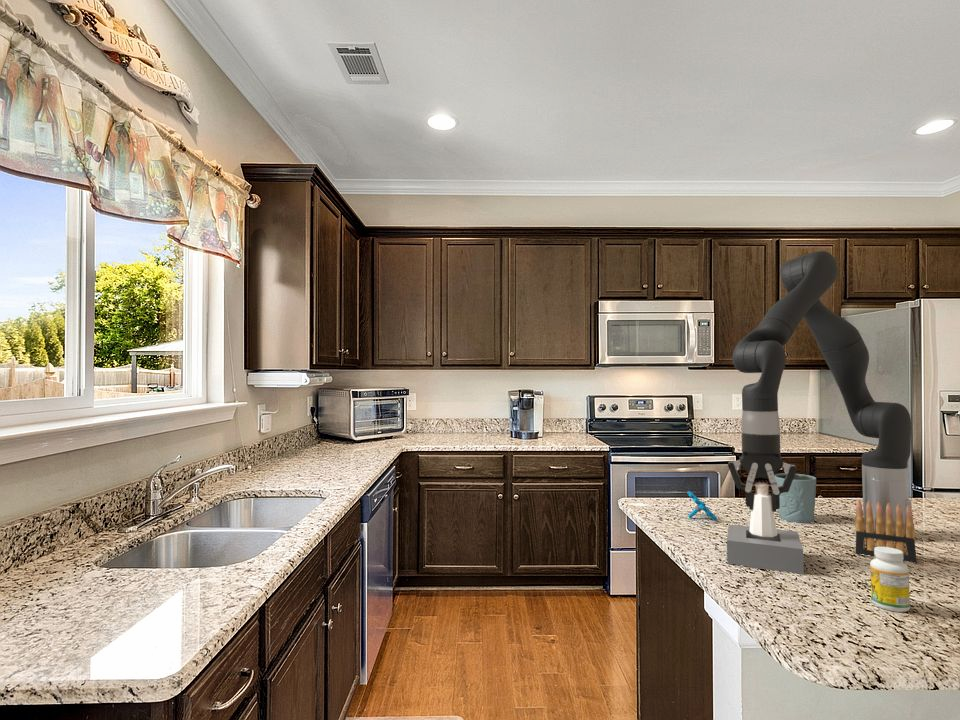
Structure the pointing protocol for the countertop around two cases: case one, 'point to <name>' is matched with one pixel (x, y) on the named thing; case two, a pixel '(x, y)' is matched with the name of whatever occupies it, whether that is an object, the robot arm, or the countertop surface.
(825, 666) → the countertop surface
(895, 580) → the supplement bottle
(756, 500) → the pepper shaker
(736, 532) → the frame
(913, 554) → the ammunition clip
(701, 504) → the blue t-shaped piece
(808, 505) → the blue cup
